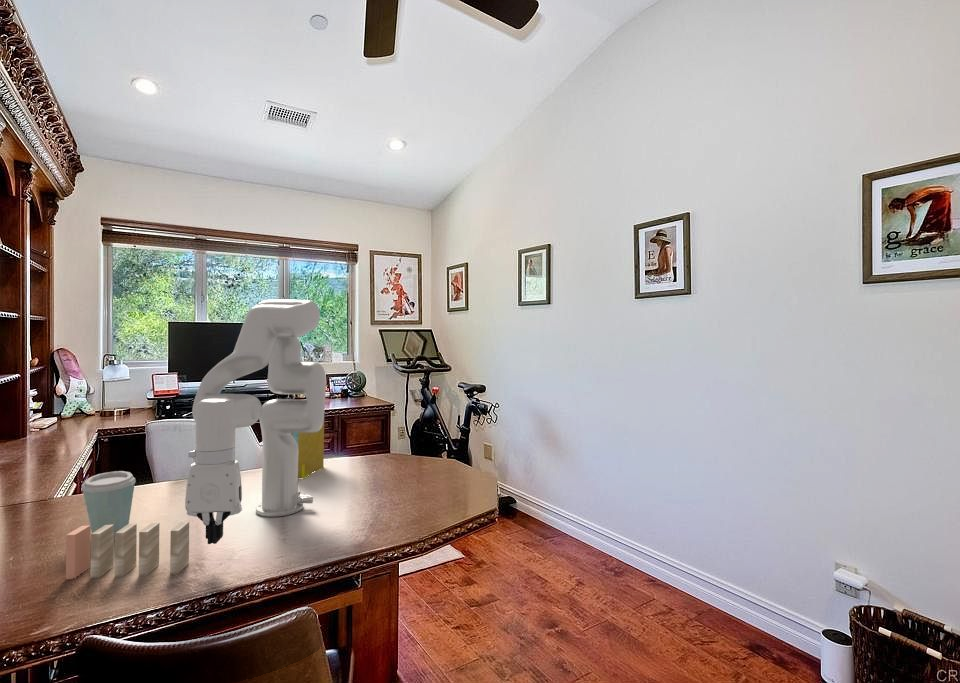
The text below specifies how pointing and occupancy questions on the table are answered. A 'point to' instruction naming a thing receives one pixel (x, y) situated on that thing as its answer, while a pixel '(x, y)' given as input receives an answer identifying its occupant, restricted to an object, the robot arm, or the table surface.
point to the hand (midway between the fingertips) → (214, 541)
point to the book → (310, 451)
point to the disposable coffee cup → (109, 499)
